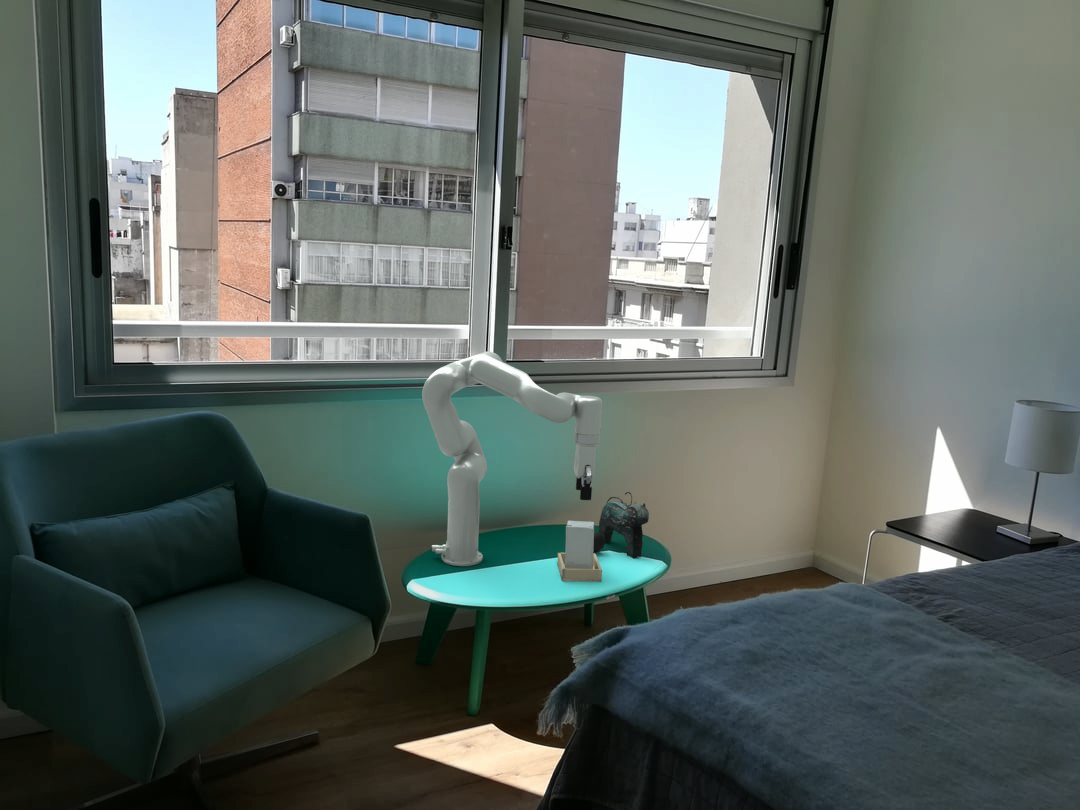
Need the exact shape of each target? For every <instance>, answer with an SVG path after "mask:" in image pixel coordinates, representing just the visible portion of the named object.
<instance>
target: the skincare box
mask: <svg viewBox="0 0 1080 810" xmlns="http://www.w3.org/2000/svg"><path fill="white" fill-rule="evenodd" d="M594 533H595V522H594V521H583V520H581V521H580V520H567V524H566V525H565V552H564V553H565V568H569V569H593V545H594Z"/></svg>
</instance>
